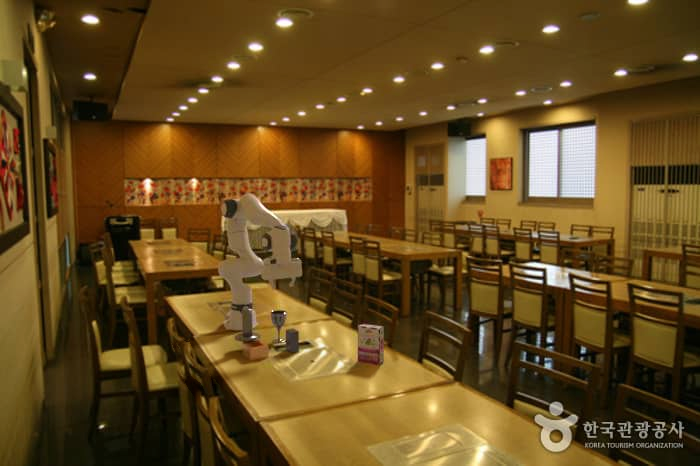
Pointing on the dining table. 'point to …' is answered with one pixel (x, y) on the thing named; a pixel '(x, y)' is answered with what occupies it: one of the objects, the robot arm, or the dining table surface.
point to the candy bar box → (371, 343)
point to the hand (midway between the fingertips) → (282, 287)
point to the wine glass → (278, 323)
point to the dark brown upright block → (292, 340)
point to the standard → (251, 338)
